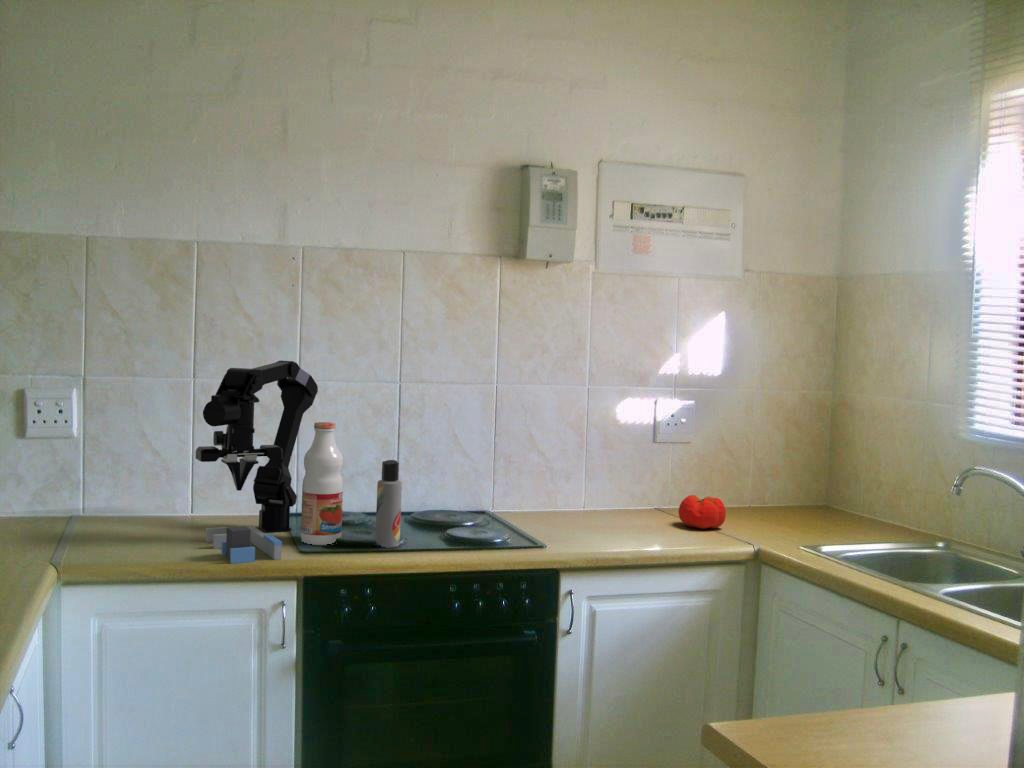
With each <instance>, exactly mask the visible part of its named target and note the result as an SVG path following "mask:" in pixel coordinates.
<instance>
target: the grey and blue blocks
mask: <svg viewBox="0 0 1024 768" xmlns="http://www.w3.org/2000/svg"><path fill="white" fill-rule="evenodd" d="M245 526H246V527H247V528H249V529H250V530H251V534H250V544H253V545H254V546H250V547H242V548H230V560H229V563H230V564H241V563H242V564H243V563H254V562H255V560H256V559H255V558H256V548H258V549H259V550H260V551H263V553H265V554H266V555H268V556H269V557H270V558H271V559H273V560H281V559H282V546H283V541H282V540H280V539H278V538H277V537H276V536H274V535H273V534H271V533H268V534H267V533H264V531H261V529H260V528H257V527H256V526H254V525H253V524H250V525H245ZM227 527H228V526H219V527H218V526H217V527H206V528H205V537H204V538H205V542H206V543H210V542H211V543H212V545H213V546H212V548H213V549H214V550H215V549H218V550H219V549H220V550H221V552H220V554H221V556H222V557H226V538H227Z"/></svg>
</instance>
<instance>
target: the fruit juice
mask: <svg viewBox="0 0 1024 768" xmlns="http://www.w3.org/2000/svg"><path fill="white" fill-rule="evenodd" d="M313 427H314V428H313V431H314V432H315V433H314V437H313V441H312V444H311V446H310V447H309V449H307V451H306V452H305V454H304V457H303V467H304V471H305V474H304V477H303V478H302V489H301V490H302V491H301V520H300V527H301V528H300V539H301V542H302V543H303V542H304V544H306V543H307V544H306V545H310V544H312V546H328V545H327V544H331V545H333V544H332V543H334V542H335V541H336V539H337V538H340V537H341V538H342V526H343V525H342V524H343V523H342V521H343V501H344V499H343V496H344V493H343V492H344V479H343V476H342V469H343V466H344V457H343V454H342V452H341V450H340V449H339V447H338V445H337V442H336V438H335V431H336V428H337V427H336V423H334V422H329V421H327V422H326V421H325V422H323V421H322V422H320V421H319V422H314V424H313Z"/></svg>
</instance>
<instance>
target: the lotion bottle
mask: <svg viewBox="0 0 1024 768" xmlns="http://www.w3.org/2000/svg"><path fill="white" fill-rule="evenodd" d="M381 463H382V464H381V480H378V481H377V486H376V488H377V489H376V490H377V491H376V515H375V538H374V539H375V541H376V542H377V543H378V544H379V545H381V546H382V547H381V548H383V547H385V549H386V548H387V549H390V548H398V547H399V546H400V537H401V521H402V520H401V516H402V494H403V493H402V492H403V490H402V488H403V487H402V486H403V483H402V481H401V480H399V472H400V471H399V467H400V465H399V462H398V461H397V460H396V459H387V460H384V461H382V462H381Z"/></svg>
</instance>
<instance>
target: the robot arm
mask: <svg viewBox="0 0 1024 768" xmlns="http://www.w3.org/2000/svg"><path fill="white" fill-rule="evenodd" d="M274 382H277V383H276V385H277V386H278V388H279V389H280V391H281V392H280V393H281V394H280V399H281V401H282V405H283V409H282V414H281V418H280V422H279V423H278V427H277V431H276V434H275V437H274V438H275V439H274V441H273V444H260V446H259V448H255V445H254V434H255V432H256V431H255V430H256V429H255V427H254V426H255V425H254V424H255V423H254V422H255V420H254V419H255V403H260V399H259V398H258V396H256V395H255V394H256V393H258V392H260V391H261V390H263V386H264V385H267V384H271V383H274ZM318 389H319V388H318V384H317V382H316V381H315V379H314V378H313V376H312V375H311V374H310V373H308V372H307V371H305V370H304V369H302V368H301V366H299V364H298V362H295V361H293V360H278V361H276V362H273V363H268V364H265V365H262V366H261V365H260V366H258V367H253V368H247V367H246V368H245V367H243V368H242V367H241V368H240V367H230V368H228V369H227V370H226V373H225V374H224V376H223V378H222V379H221V382H220V384H219V386H218V389H217V390H216V393H215V395H213V394H212V395H211V397H210V398H211V399H210V401H208V402H207V403H206V404H205V406H204V408H203V410H202V417H203V419H204V422H205V423H206V424H207V425H209V426H210V427H219V426H226V430H225V433H224V431H223V430H215V431H213V437H212V438H213V439H212V440H213V441H212V442H213V445H212V446H210V445H209V446H208V445H207V446H206V445H205V446H197V448H196V449H195V460H198V461H199V462H203V463H210V462H213V463H214V462H216V461H218V460H219V459H220V458H221V459H220V461H221V463H223V464H225V465H226V466H227V467H228V469H229V471H230V473H231V477H232V479H233V483H234V486H235V489H236V491H238V492H239V491H242V490H243V488H244V485H245V482H246V481H247V479H248V475H249V474H250V472H251V471H252V470H253V467H254V466H255V465H258V464H259V460H257V458H258V457H267V458H268V461H267V462H266V464H265V465H259V466H258V467H257V469H256V474H255V477H254V479H253V486H252V492H253V496H254V500H255V505H261V507H260V508H261V509H259V510H258V529H260V530H262V531H263V532H265V533H270V532H271V533H273V532H287V531H292V527H291V526H290V520H291V519H290V518H291V517H290V515H291V513H290V512H291V508H292V507H294V506H295V505H296V503H297V498H298V496H297V494H296V492H295V491H294V489H293V488H292V486H291V484H292V475H291V473H290V468H289V466H290V462H291V458H292V455H293V453H294V452H293V451H294V449H295V444H296V441H297V437H298V434H299V430H300V426H301V423H302V419H303V416H304V413H306V412H307V410H309V409H310V408H311V406H313V404H314V401H315V399H316V396H317V394H318V391H319V390H318ZM216 446H218V447H219V446H220V447H221V449H219V448H218V447H216ZM238 458H239V461H238Z"/></svg>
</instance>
